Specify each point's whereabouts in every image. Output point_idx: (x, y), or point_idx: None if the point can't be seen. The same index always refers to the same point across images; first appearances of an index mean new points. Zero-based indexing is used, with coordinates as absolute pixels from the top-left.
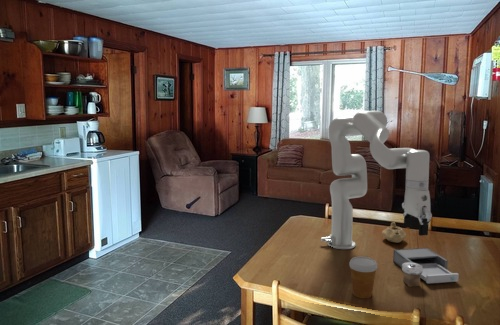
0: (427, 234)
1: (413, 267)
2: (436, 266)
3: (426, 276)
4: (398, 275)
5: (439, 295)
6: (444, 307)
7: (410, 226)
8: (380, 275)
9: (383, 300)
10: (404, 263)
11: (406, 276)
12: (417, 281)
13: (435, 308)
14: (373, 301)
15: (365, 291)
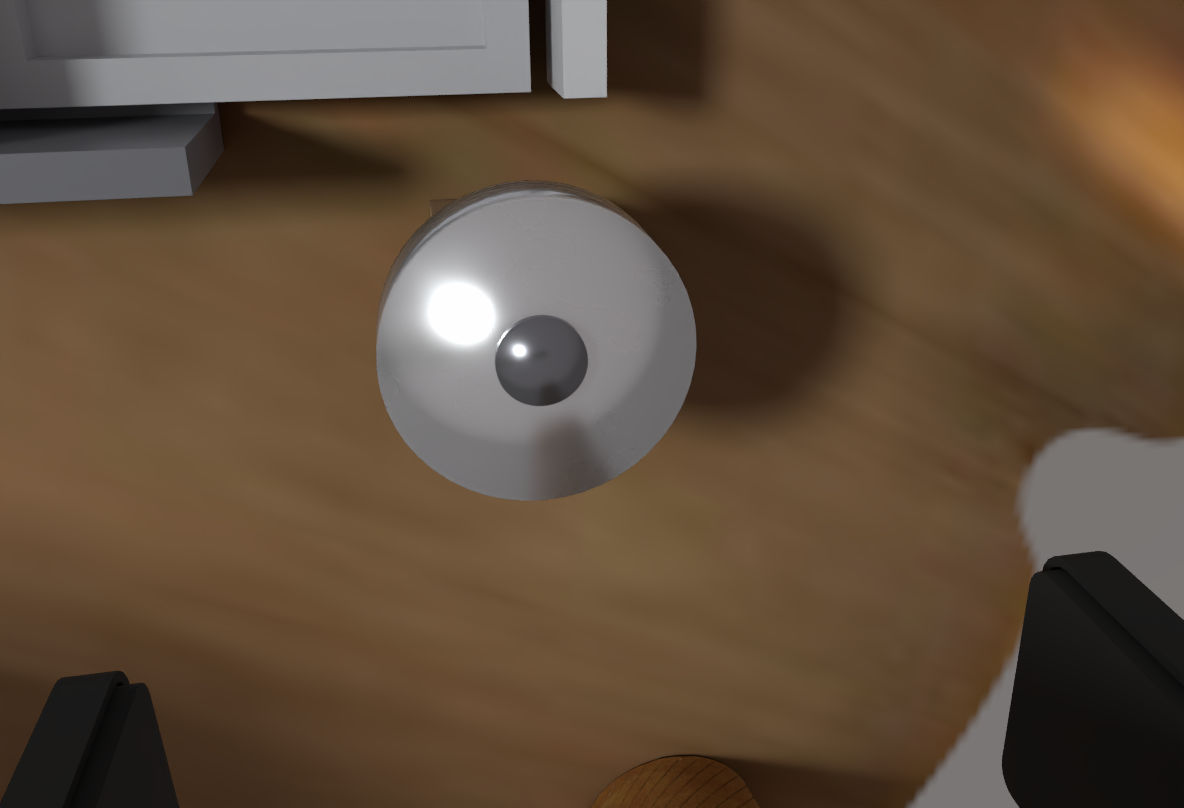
0: (1101, 557)
1: (597, 367)
2: None
3: (562, 95)
4: (230, 326)
5: (864, 79)
6: (1105, 185)
7: (148, 749)
8: (226, 548)
9: (822, 689)
10: (421, 436)
11: None
12: None
13: (1090, 290)
14: (818, 768)
15: None
